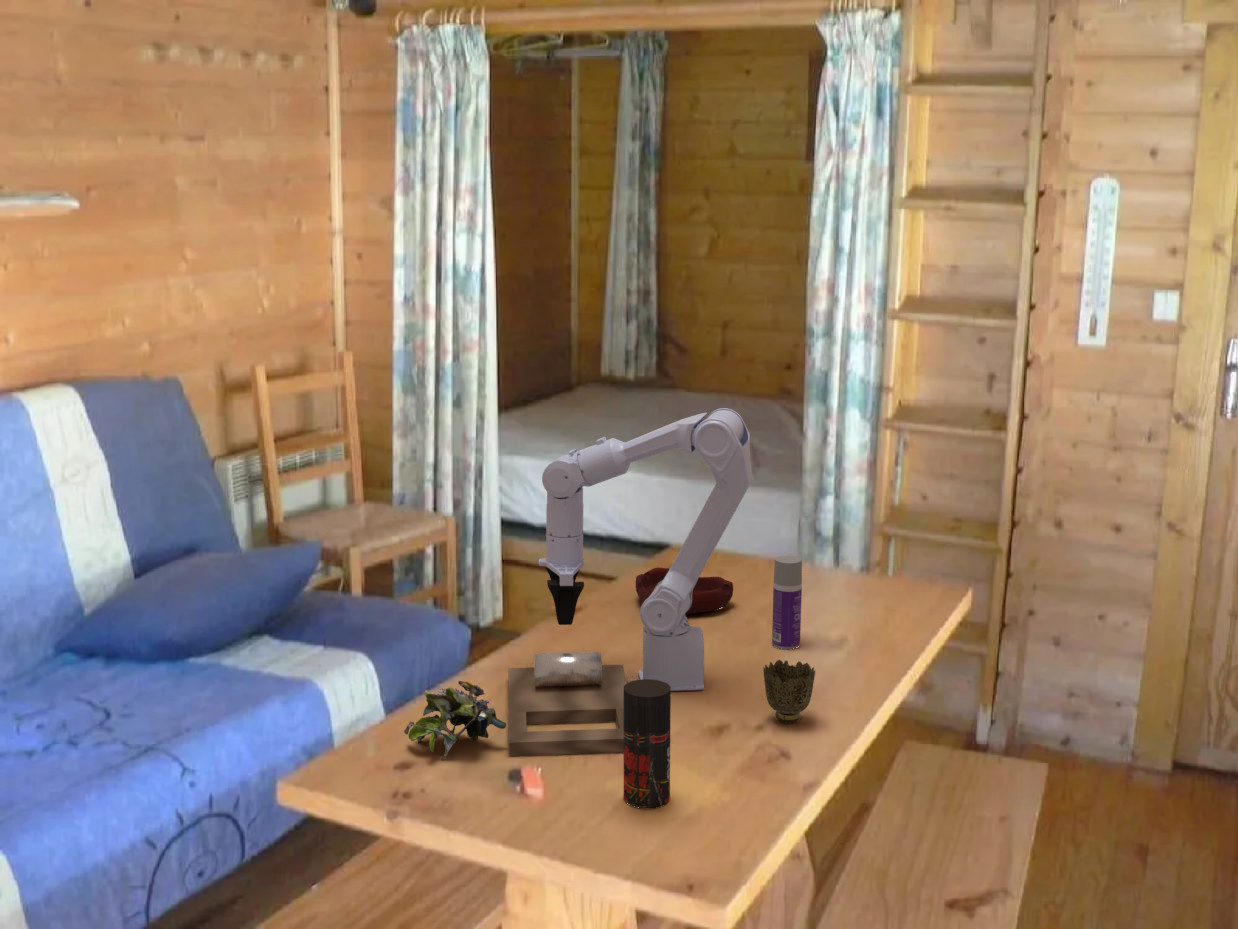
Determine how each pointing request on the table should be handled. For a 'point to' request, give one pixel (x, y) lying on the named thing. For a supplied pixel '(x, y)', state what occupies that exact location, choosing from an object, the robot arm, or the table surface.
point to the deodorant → (647, 743)
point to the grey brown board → (565, 714)
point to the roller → (568, 669)
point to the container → (787, 602)
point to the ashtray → (704, 595)
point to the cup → (788, 689)
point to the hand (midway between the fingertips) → (564, 615)
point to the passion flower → (454, 716)
